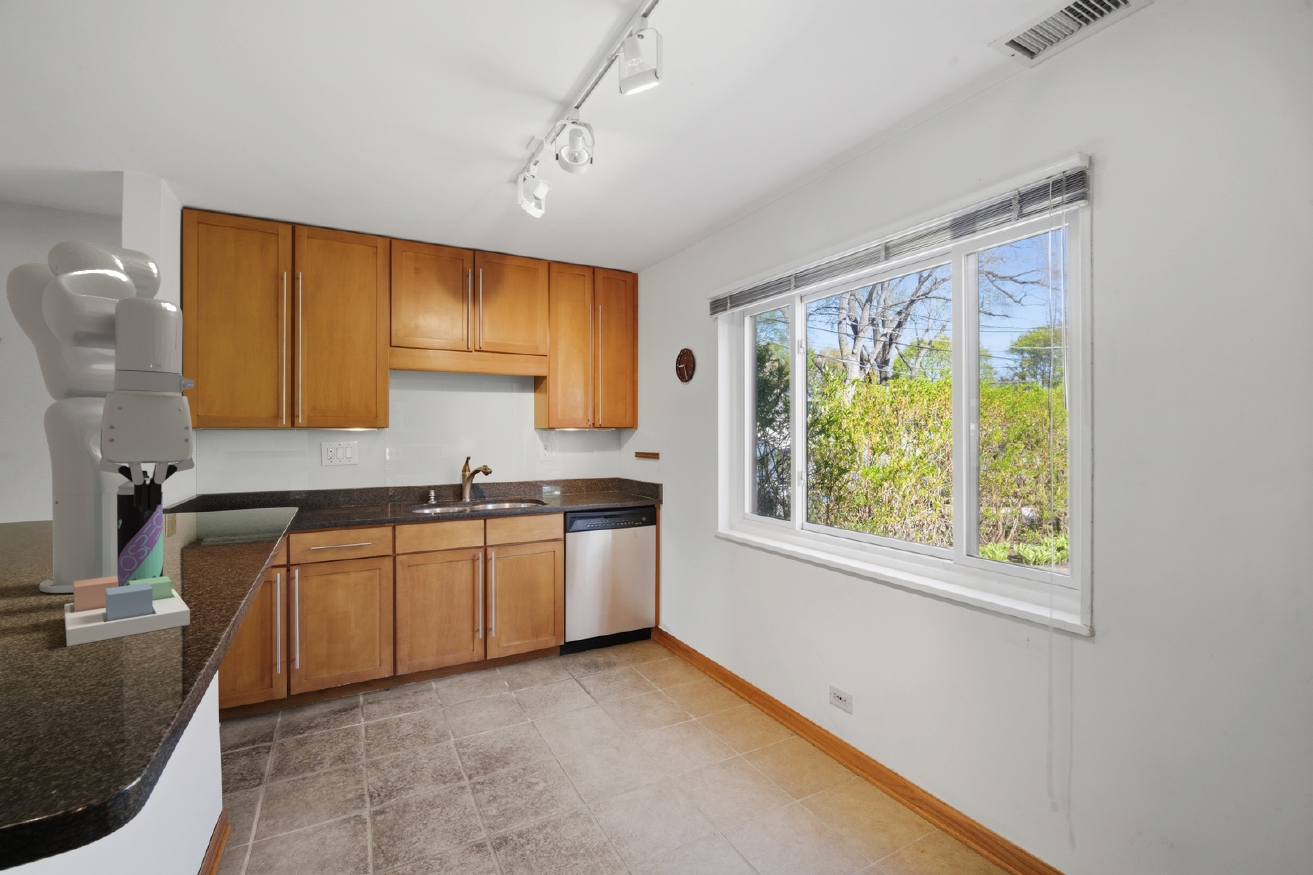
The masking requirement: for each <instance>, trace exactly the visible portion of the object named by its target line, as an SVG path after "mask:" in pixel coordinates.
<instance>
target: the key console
mask: <svg viewBox="0 0 1313 875" xmlns="http://www.w3.org/2000/svg"><path fill="white" fill-rule="evenodd" d="M152 602H153V614H151V615H145V616H139V617H133V618H127V619H121V620H115V621H107V617H106V608H101V609H95V610H88V611H81V612H74V602H71V603H65V604H64V625H65V626H64V629H65V638H66V640H65V641H66V647H71V646H77V645H81V644H88V643H92V642H93V643H94V642H99V641H104V640H105V641H106V640H110V639H115V638H117V639H118V638H121V637H128V636H132V635H139V634H143V633H145V634H146V633H149V632H156V631H160V630H166V629H167V630H168V629H172V628H178V627H183V626H189V625H190V624H191V609H190V608H189V606H188V605H187V604H186V602H185V601H184V600H183V599H182V597H181V596H180V595H179V594H178V592H177V590H175V588H172V598H167V599H161V600H154V601H152Z"/></svg>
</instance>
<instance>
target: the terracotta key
mask: <svg viewBox="0 0 1313 875" xmlns="http://www.w3.org/2000/svg"><path fill="white" fill-rule="evenodd" d="M113 587H118V580H117V577H116V576H112V577H104V578H96V579H88V580H80V581H74V592H73V603H74V612H81V611H88V610H95V609H101V608H106V588H113Z"/></svg>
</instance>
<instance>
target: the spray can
mask: <svg viewBox="0 0 1313 875" xmlns="http://www.w3.org/2000/svg"><path fill="white" fill-rule="evenodd" d="M148 472H149V471H148V470H142V473H143V478H144V479H145V480H146V484H147V485H148V483H149V482H150V479H151V478H152V477H150V475H148ZM118 489H119V490H118V491H117V580H118V587H121V586H128V585H129V581H133V580H141V579H148V578H156V577H163V576H164V538H163V537H164V528H163V527H164V512H163V511H164V509H163V508H164V505H163V504H164V503H163V502H164V496H163V494H164V492H163V488H162V502H161V505H156V511H155V512H151V511H149V510H148V511H146V512H141V511H140V506H134V483H133V482H131V481H130V480H129V481H127V482H126V483H124V484H122V485H121V486H118Z"/></svg>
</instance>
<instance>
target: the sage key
mask: <svg viewBox="0 0 1313 875" xmlns="http://www.w3.org/2000/svg"><path fill="white" fill-rule="evenodd" d="M143 583H149V584H150V586H151V587H152V601H154V600H161V599H167V598H172V589H173V588H172V586H173V585H172V584H173V583H172V580H171V579H170V577H169V576H168V575H166V576H164V575H163V577H156V578H148V579H141V580H133V581H129V585H136V584H143Z"/></svg>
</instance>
